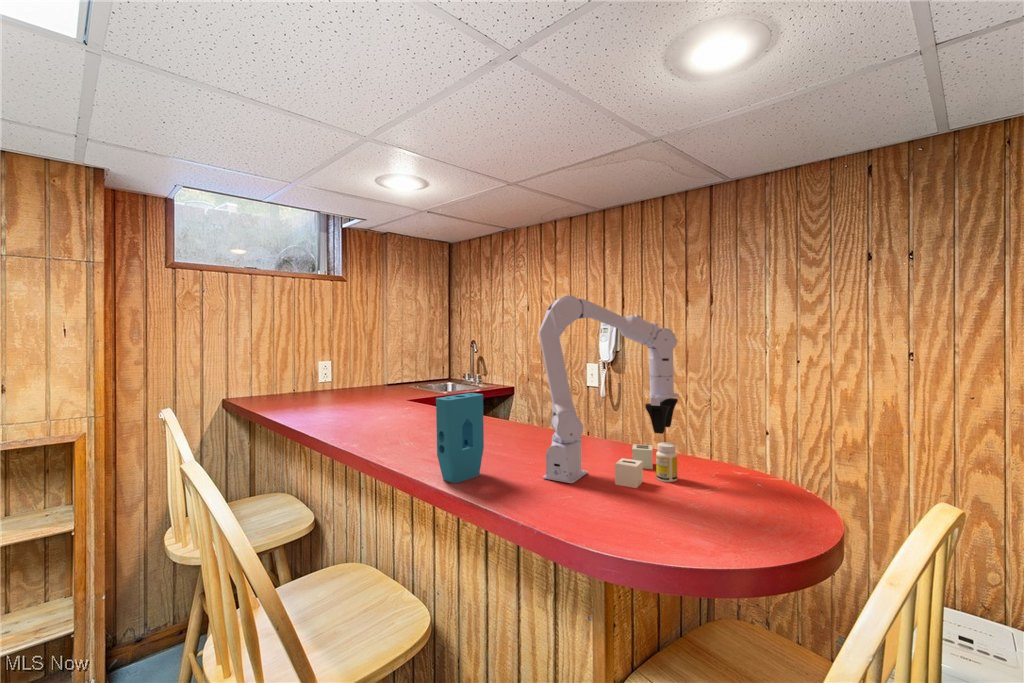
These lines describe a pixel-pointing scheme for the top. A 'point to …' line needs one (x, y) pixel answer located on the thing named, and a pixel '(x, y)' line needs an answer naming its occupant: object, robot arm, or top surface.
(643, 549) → the top surface
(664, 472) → the supplement bottle
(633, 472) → the numbered block one
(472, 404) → the block
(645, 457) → the numbered block two
